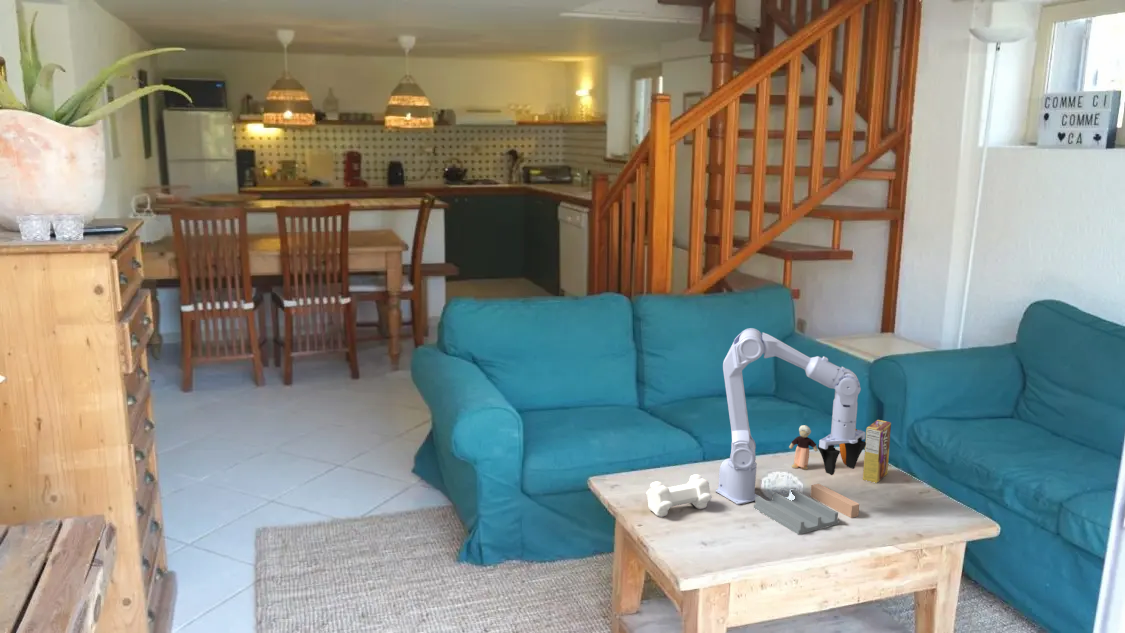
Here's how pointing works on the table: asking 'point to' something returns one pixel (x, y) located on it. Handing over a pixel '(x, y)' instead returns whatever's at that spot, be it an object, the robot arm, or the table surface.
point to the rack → (797, 512)
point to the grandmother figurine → (802, 448)
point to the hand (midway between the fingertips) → (840, 470)
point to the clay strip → (835, 500)
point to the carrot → (843, 451)
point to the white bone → (678, 495)
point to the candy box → (877, 451)
